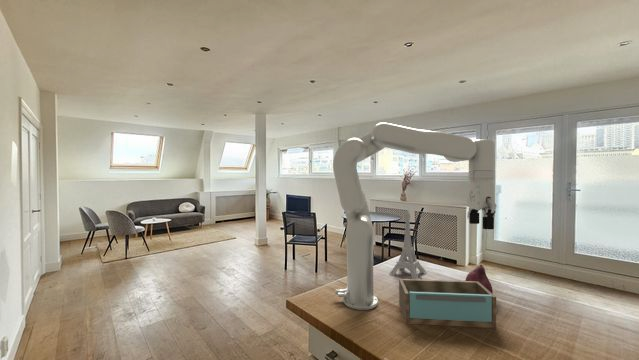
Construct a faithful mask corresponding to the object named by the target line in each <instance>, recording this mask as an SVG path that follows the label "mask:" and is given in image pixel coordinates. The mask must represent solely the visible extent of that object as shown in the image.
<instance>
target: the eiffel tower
mask: <svg viewBox="0 0 639 360" xmlns="http://www.w3.org/2000/svg"><path fill="white" fill-rule="evenodd" d="M404 219H405V229H404V239H403V240H404V241H403V247H401V249H402V251H401V253H400V256H399V259H398V260H397V261H396V264H395V265H394V267H393V269H392V270H391V271H390V272H389V273H388V276H393V277H394V276H396V275H397V272H398V270H405V269H407V271H409V272H410V274H411V279H419V280H420V278H419V276H418V271H419V274H422V273H423V274H422V275H426V274H427V273H428V272H427V271H426V269H425V268H424V267H423V266H422V265H421V263H420V259H417V257H416V254H415V251H414V247H413V244H412V235H411V224H410V219H411V214H410V211H409V210H406V212H405V214H404ZM399 268H400V269H399ZM417 269H418V271H417Z"/></svg>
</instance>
